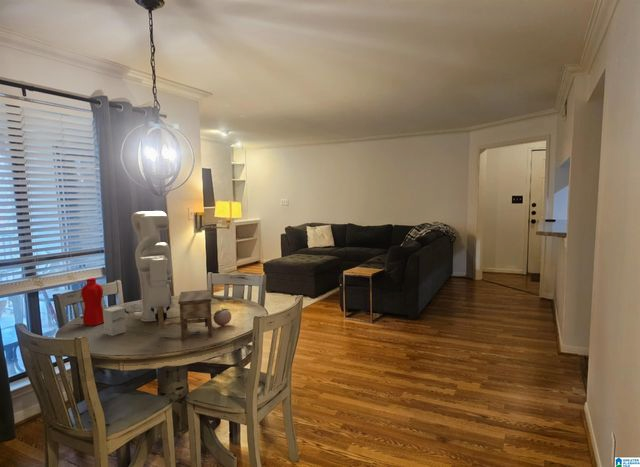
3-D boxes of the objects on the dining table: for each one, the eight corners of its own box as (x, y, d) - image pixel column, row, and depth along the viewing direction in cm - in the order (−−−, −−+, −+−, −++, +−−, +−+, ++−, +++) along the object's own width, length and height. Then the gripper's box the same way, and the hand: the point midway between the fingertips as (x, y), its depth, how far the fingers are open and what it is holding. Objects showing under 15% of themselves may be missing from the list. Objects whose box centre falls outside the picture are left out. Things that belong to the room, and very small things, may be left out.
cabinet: (180, 341, 187) (178, 301, 185) (182, 328, 205) (180, 291, 203) (213, 337, 191) (211, 298, 189) (212, 325, 209) (211, 289, 207)
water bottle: (93, 319, 221) (89, 275, 218) (108, 321, 217) (104, 277, 214) (78, 325, 212) (74, 279, 209) (93, 327, 208) (89, 280, 206)
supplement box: (112, 336, 194) (110, 311, 193) (104, 333, 198) (102, 309, 197) (126, 331, 201) (124, 307, 199) (118, 329, 205) (116, 305, 203)
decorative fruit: (222, 330, 200) (221, 311, 199) (211, 327, 204) (210, 309, 203) (235, 325, 208) (234, 306, 207) (224, 322, 212) (223, 304, 211)
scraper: (158, 331, 188) (156, 309, 187) (160, 325, 196) (158, 304, 195) (207, 326, 194) (206, 304, 193) (207, 321, 203) (206, 300, 201)
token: (190, 335, 195) (190, 333, 195) (190, 332, 199) (190, 330, 199) (199, 334, 196) (199, 332, 196) (200, 331, 200) (199, 329, 200)
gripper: (177, 280, 196) (179, 316, 198) (142, 283, 192) (144, 319, 194) (176, 283, 189) (178, 321, 191) (139, 286, 185) (142, 324, 187)
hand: (161, 320), depth 192 cm, fingers closed on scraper
